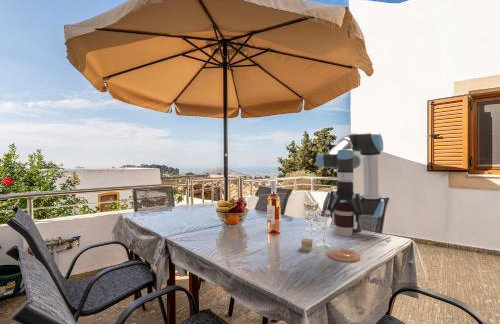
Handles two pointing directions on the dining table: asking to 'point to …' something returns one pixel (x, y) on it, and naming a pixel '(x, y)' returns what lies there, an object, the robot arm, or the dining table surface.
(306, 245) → the tan cube
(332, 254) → the saucer
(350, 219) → the coffee cup
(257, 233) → the dining table surface
